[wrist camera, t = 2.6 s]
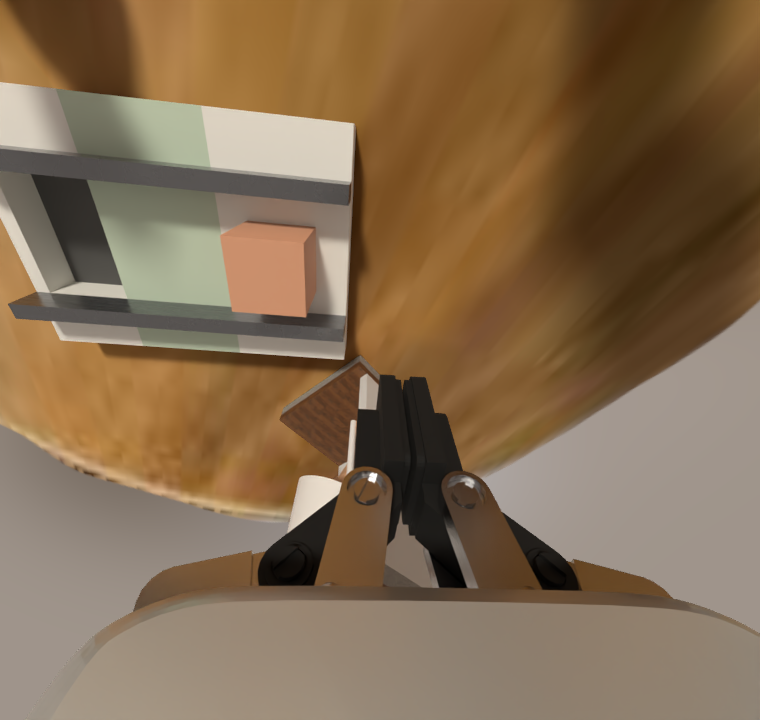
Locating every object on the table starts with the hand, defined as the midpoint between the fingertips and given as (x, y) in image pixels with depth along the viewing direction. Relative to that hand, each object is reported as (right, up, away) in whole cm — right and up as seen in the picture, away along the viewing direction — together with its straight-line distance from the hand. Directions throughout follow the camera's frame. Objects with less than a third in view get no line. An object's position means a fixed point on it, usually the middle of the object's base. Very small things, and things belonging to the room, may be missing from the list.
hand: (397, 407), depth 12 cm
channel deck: (-16, +12, +15) cm, 25 cm away
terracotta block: (-8, +10, +13) cm, 18 cm away
